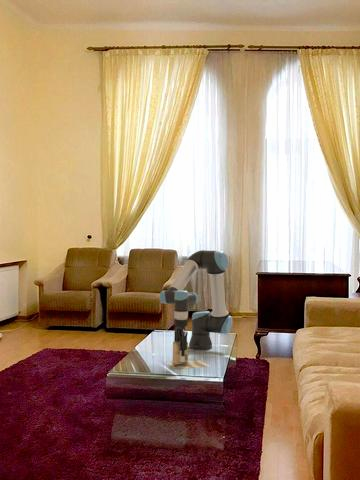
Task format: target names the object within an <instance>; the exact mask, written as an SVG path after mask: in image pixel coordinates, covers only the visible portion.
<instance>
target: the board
mask: <svg viewBox="0 0 360 480" xmlns="http://www.w3.org/2000/svg"><path fill="white" fill-rule="evenodd" d="M166 364H167V365H169V366H170V367H172V368H174V369H175V370H185V369H186V370H187V369H197V368H207V367H208V368H209V367H210V368H211V365H209V364H207V363H205V362H204V361H201V360H199V359H193V360H191V359H190V360H188V364H186V365H175V364H173V361H168V362H166Z"/></svg>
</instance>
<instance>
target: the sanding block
mask: <svg viewBox="0 0 360 480" xmlns="http://www.w3.org/2000/svg"><path fill="white" fill-rule="evenodd" d="M179 349H181V347H180V341H175V342H174V341H172V362H173V364H175V365H186V364H188V361H189V359H188V358H189V342H188V341H187V350H185V362H180V350H179Z"/></svg>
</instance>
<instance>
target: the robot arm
mask: <svg viewBox="0 0 360 480" xmlns="http://www.w3.org/2000/svg"><path fill="white" fill-rule="evenodd" d="M228 267H229V257H228V255H227V253H226V252H224V251H222V250H204V249H203V250H198V251H195V252H194V253H192V254H191V255H190V256H188V258H186V260H185V262H184V266H183V267H182V269H181V270H180V271H179V273H178V274H177V275H176V277H175V279H174V280H173V281H172V283H171V284H170V286H169V287H168V289H167V290H161V291H160V293H159V302H160V303H161V304H166V305H173V306H174V313H173V315H174V316H173V318H174V319H173V326H174V328H173V331H174V337H173V338H174V340H173V342H175V341H180V347H181V349H179V350H180V362H185V350H187V342H188V331H186V327H188V322H189V320H188V318H189V307H191V306H192V307H193V306H195V305H197V304H198V303H199V298H200V297H199V295H198V294H197V292H194V291H190V292H188V290H184V289H185V288H186V286H187V284H188V283H189V281H190V280H191V279H192V277H193V276H194V275H195V273H197V272H198V271H200V270H206V273H207V275H209V284H210V293H211V294H210V297H211V308H212V311H211V312H210V311H208V310H205V311H203V310H202V311H196V312H193V313H192V316H191V337H190V339H189V342H188V349H193V350H202V351H203V350H210V349H213V342H212V339H211V333H214V334H221V335H227V334H229V333H231V330H232V327H233V324H234V323H233V321H234V320H233V316H231V315H230V313H229V311H228V310H227V306H226V292H225V278H224V274H225V273H226V270H228Z"/></svg>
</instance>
